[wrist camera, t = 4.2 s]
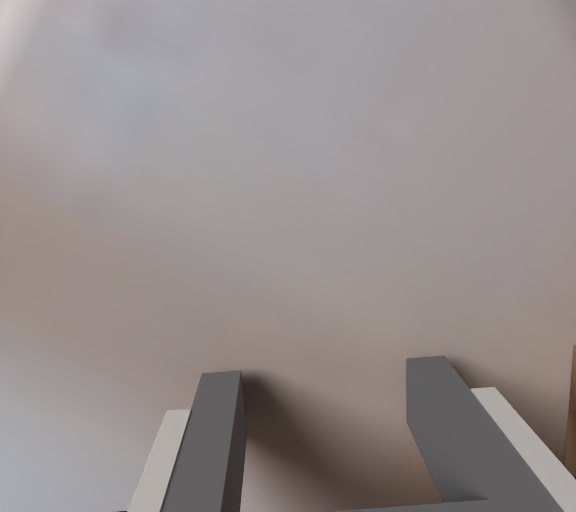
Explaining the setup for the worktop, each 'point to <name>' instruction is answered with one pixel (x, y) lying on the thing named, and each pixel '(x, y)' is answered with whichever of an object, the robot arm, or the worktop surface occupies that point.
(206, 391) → the u piece
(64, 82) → the worktop surface
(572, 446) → the rack
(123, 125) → the worktop surface
